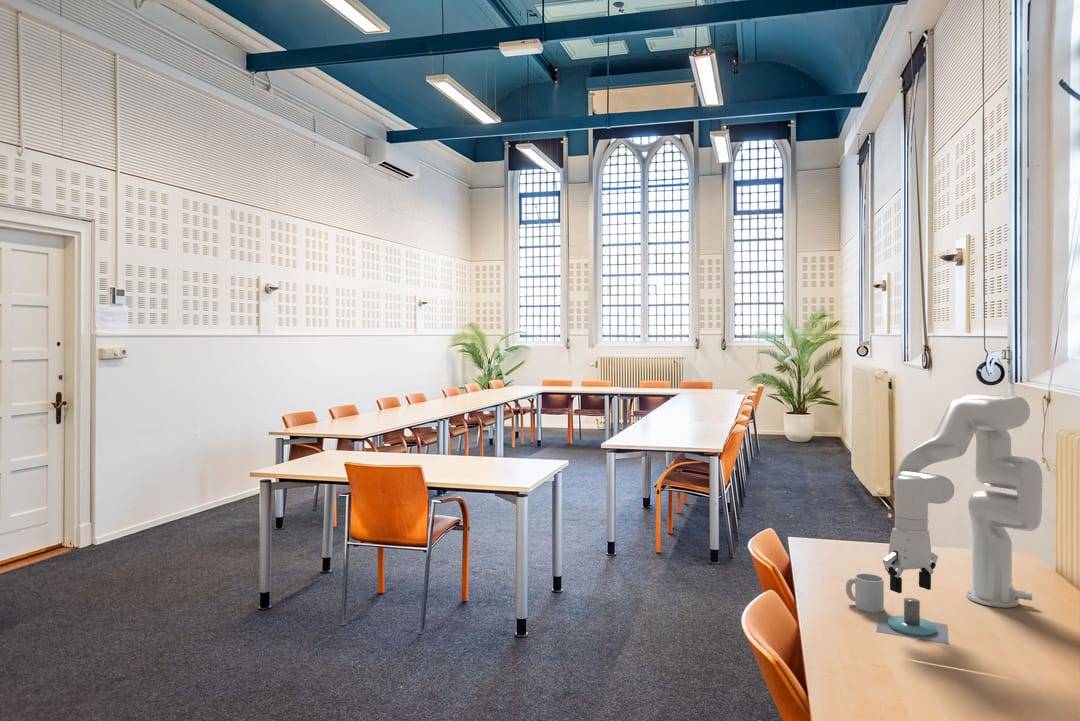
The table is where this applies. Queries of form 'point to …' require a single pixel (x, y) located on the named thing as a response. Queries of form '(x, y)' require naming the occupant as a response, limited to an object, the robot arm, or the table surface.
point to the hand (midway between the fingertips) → (910, 589)
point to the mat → (939, 637)
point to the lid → (912, 620)
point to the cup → (867, 592)
